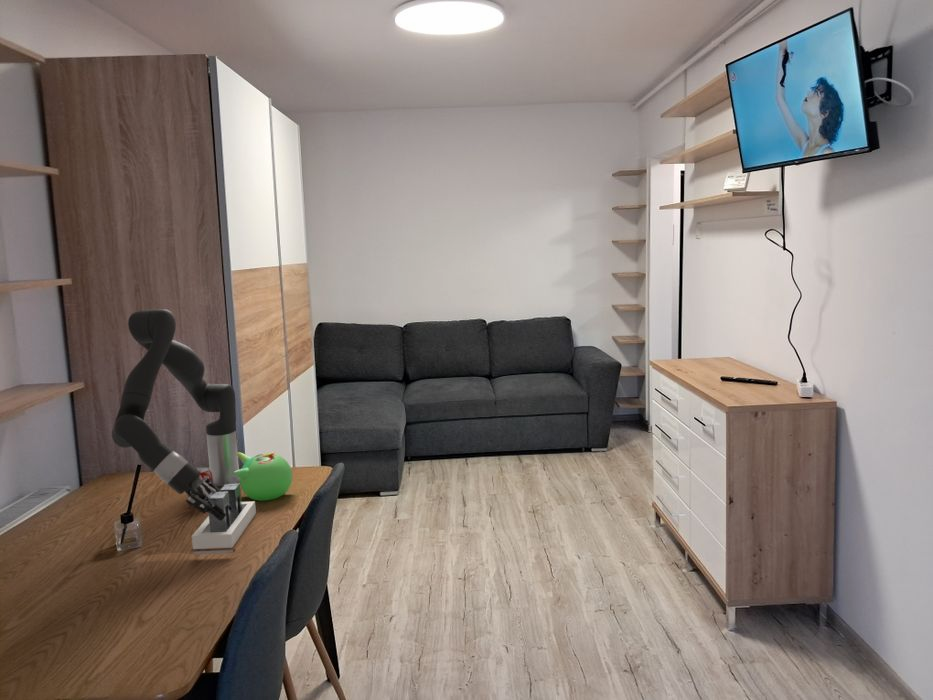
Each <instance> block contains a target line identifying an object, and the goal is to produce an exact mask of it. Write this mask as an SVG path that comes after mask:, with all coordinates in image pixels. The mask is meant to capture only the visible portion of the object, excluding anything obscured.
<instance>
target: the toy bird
mask: <svg viewBox="0 0 933 700" xmlns="http://www.w3.org/2000/svg"><path fill="white" fill-rule="evenodd" d="M237 455H238V460H240V461H241V463H242V467H241V468H239V470H236V471H234V472H233V475H235V476H237V477H239V483H240V489H241V490H242V492H243V493H244V494H245V496H247V497H248V498H249V499H250V500H253V501H259V502H263V501H264V502H265V501H271V500H275V499H278V498H281V497H282V496H283V495H285V493H287V491H288V490H289V489H290V487H291V485H292V481H293V472H292V468H291V465H290V464H289V463H288V461H287V460H286V459H285V458H284V457H282V456H281V455H279V454H276V453H275V452H274V451H273V452H269V453H268V452H267V453H260V454H257V455H255V456H254V457H253V456H251V455H248V454H246V453H243V452H239V451H238V453H237Z"/></svg>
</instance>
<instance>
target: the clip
mask: <svg viewBox="0 0 933 700" xmlns="http://www.w3.org/2000/svg"><path fill="white" fill-rule="evenodd" d="M210 497H211V498H210V500H211V501H212V502H213V503H214V504H215V506H217V507H218V508H220V509H221V510H222V511H223V512H225V513H226V516H225V517H224V518H223V520H221V521H220V520H218V519H217V518H216V517H215V516H214V515H212V514H211V513H210V512H209V513H208V516H209V523H210V533H212V532H227V529H229V528H230V526H231V517H230V505H229V493H228V492H217V491H216V493H212V494H211V495H210Z"/></svg>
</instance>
